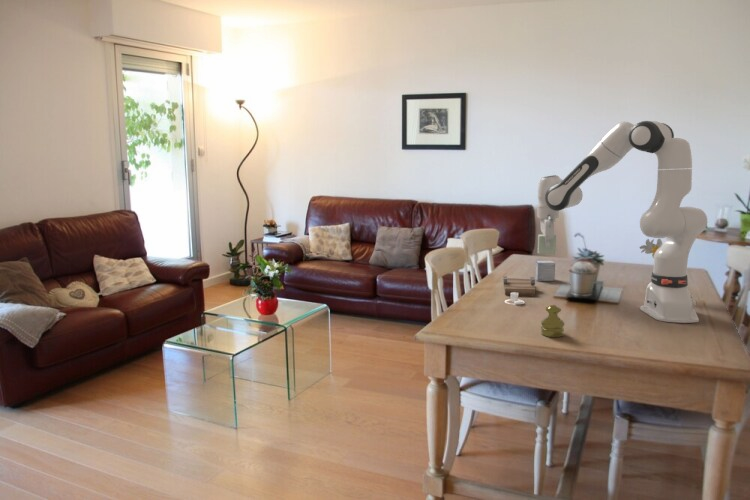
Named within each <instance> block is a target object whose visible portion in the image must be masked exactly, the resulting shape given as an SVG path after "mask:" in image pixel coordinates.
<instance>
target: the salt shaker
mask: <svg viewBox="0 0 750 500" xmlns="http://www.w3.org/2000/svg"><path fill="white" fill-rule="evenodd" d="M545 310H546V312H547V313H548V315H547V316H546V317H545V318H543V319H542V320H541V327H540V328H541V329H540V331H541V332H540V333H541V335H542V336H545V337H549V338H560V337H563V336H564V334H565V328H564V326H565V321H564V320H563V319H561V318H560V317H559V316H558V314H559V313H561V311H562V308H561V307H560V306H557V305H555V304H551V305H548V306H546V307H545Z"/></svg>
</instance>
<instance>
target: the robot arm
mask: <svg viewBox="0 0 750 500" xmlns="http://www.w3.org/2000/svg"><path fill="white" fill-rule="evenodd" d="M674 134H675V133H674V130H673V129H672V128H671V127H670V126H669V125H668V124H666V123H664V122H660V121H656V120H643V121H639V122H637V123H635V124H633V123H631V122H629V121H620V122H618V123H617V124H615V125H614V126H613V127H611V128H610V129H609V130H608V131H607V132H606V133H605V134H604V135H603V136H602V138H601V139H599V141H598V142H597V143H596V144H595V145H594V147H592V149H591V150H590V151H589V153H588V154H586V156H585V157H584V158H583V159H582V160H581V162H579V164H577V165H576V166H575V167H574V168H573V169H572V170H571V171H570V172H569V174H567V175H566V176H565V177H564V178H561V177H560V176H558V175H555V174H554V175H547V176H544V177H541V178H540V179H539V182H538V187H537V189H538V190H537V200H538V203H537V209H536V210H537V211H536V212H537V213H536V217H537V218H538V219H539V224H540V225H539V226H540V231H541V233H542V235H544V237H545V246H546V247H549V246H550V240H551V238H554V235H555V222H556V219H558V218H559V215H560V214H559V213H560V212H559V211H561V210H562V211H563V210H564V209H569V208H572V207H575V206H577V205H579V204H580V203H581V201H582V200H583V191H582V189H581V186H582V185H583V184H584V183H585V182H586V181H587V180H588V179H590V178H591V177H592V176H594V175H597V174H598V173H601V172H604V171H607V170H609V169H611V168H612V167H614V166H616V165H617V164H618V163H619V162H620V161H621V160H622V159H623V158H624V157H625V156H626V155H627V154H628V153H629V152H630V151H631V150H632V149H636V150H638V151H641V152H644V153H648V154H649V153H650V154H654V155H656V158H657V180H656V181H657V184H656V192H655V195H654V198H653V201H652V203H651V204H650V206H649V208H647V210H646V211H645V212H643V214H642V216H641V217H640V220H639V228H640V230H641V232H642V233H643V234H644V235H645V236H646V237H648V238H653V239H665V240H664V242H663V243H662V244H663V245H662V246H661V247H660V248H659V249H657V250H656V252H655V255H654V258H653V270H652V272H651V275H650V278H651V279H650V283H651V282H652V283H651V285H650V286H649V287H647V286H646V289H645V298H644V305H640V307H639V310H641V311H642V312H644V313H645V314H647V315H648V316H650V317H651V318H653V319H655V320H656V321H660V322H667V323H678V324H679V323H683V324H687V323H688V324H689V323H690V324H692V323H699V320H700V319H699V316H698V314H697V312H696V310H695V308H693V307H696V306H697V301H696V299H692V298H693V294H691V293H690V289H689V288H688V285H689V283H688V281H689V279H688V275H687V271H688V261H689V254H690V251H691V249H692V247H693V245H694V243H695V241H696V239H697V238H698V236H699V235H700V234H701V233H703V232H704V231H705V230H706V228H707V225H708V216H707V214H706V213H705V211H704V210H703V209H701V208H697V207H693V206H681V203H682V201H683V199H684V198H685V197H686V196H687V195H688V194H689V193H690V192H691V190H692V187H693V186H692V184H693V182H692V180H693V178H692V176H693V158H692V157H693V156H692V151H691V145H690V143H689V141H687V140H686V139H684V138H680V137H675V135H674Z"/></svg>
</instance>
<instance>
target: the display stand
mask: <svg viewBox="0 0 750 500" xmlns="http://www.w3.org/2000/svg"><path fill="white" fill-rule="evenodd" d="M502 278H503V279H502V280H503V281H502V282H503V288H504V295H505V296H511V293H512V292H516V293H518V297H519V296H520V297H523V296H524V297H535V296H536V288H535V285H536V277H535V276H530V278H508V276H507V275H504V276H503V277H502Z"/></svg>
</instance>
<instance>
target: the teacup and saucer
mask: <svg viewBox="0 0 750 500" xmlns="http://www.w3.org/2000/svg"><path fill="white" fill-rule="evenodd" d="M509 301H510V302H511V303H510V302H509ZM504 303H505V304H508V305H512V306H513V305H515V306H519V305H524V304H525V301H524V300H522V299H519V296H518V293H516V292H512V293H511V295H510V298H509V299H505V300H504Z"/></svg>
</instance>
